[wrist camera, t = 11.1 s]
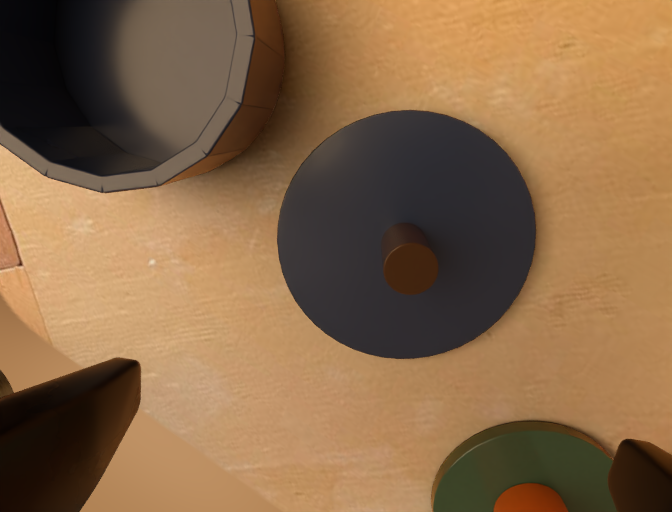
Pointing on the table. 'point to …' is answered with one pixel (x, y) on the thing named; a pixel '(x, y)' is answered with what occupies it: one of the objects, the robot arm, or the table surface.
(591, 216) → the table surface
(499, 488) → the saucer
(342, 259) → the lid
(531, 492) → the carrot
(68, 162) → the pot
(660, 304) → the table surface
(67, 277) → the table surface
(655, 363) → the table surface
